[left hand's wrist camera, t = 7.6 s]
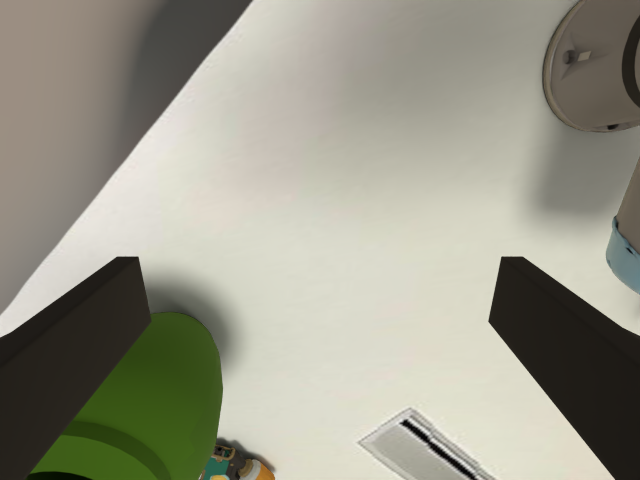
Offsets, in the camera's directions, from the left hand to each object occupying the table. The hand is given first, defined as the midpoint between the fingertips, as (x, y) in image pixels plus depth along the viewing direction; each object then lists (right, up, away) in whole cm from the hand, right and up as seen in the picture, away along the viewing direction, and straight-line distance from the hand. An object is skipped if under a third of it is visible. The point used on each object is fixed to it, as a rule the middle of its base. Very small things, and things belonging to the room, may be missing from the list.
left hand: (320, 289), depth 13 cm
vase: (-21, -13, +39) cm, 46 cm away
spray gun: (-16, -41, +49) cm, 66 cm away
